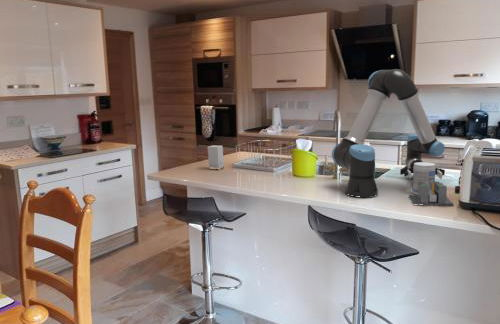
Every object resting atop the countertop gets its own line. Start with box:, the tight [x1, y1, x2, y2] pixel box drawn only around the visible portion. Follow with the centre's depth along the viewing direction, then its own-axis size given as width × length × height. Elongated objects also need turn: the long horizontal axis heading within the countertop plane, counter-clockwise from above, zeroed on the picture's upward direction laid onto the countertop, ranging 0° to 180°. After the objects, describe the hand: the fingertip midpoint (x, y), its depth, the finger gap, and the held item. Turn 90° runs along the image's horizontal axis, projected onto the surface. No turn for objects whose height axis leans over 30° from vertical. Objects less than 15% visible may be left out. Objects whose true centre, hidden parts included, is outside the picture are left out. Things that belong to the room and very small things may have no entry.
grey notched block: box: [408, 182, 454, 207], centre depth 178 cm, size 12×16×8 cm
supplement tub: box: [412, 161, 436, 195], centre depth 190 cm, size 10×10×15 cm
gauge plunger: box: [417, 181, 440, 202], centre depth 178 cm, size 10×9×8 cm
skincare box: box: [207, 144, 225, 168], centre depth 265 cm, size 8×7×16 cm
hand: (425, 175), depth 189 cm, fingers open, 13 cm apart
